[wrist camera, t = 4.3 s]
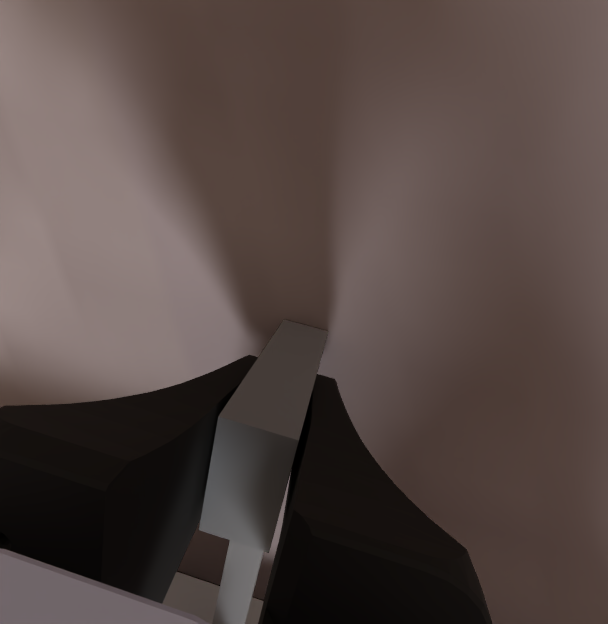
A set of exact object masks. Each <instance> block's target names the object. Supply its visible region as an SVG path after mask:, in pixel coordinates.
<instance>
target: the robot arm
mask: <svg viewBox="0 0 608 624" xmlns="http://www.w3.org/2000/svg"><path fill="white" fill-rule="evenodd" d="M257 359H258V357H255V356H251V355H248V356H246V357H243V358H241V359H239V360H237V361H235V362H233V363H230V364H228V365H226V366H224V367H222V368H219V369H217V370H215V371H213V372H210V373H208V374H205V375H203V376H200V377H197V378H195V379H192V380H189V381H187V382H184V383H181V384H178V385H175V386H171V387H168V388H164V389H160V390H156V391H152V392H148V393H143V394H138V395H132V396H127V397H122V398H116V399H110V400H102V401H94V402H83V403H72V404H57V405H23V406H3V407H2V408H0V624H210V623H208V622H206V621H204V620H203V619H201V618H199V617H197V616H195V615H192V614H189V613H186V612H184V611H181V610H178V609H175V608H172V607H169V606H166V605H164V604H162V603H163V601H164V599H165V596H166V594H167V592H168V589H169V587H170V585H171V583H172V580H173V578H174V576H175V574H176V571H177V569H178V567H179V565H180V563H181V560H182V558H183V556H184V554H185V551H186V549H187V547H188V545H189V543H190V541H191V538H192V536H193V534H194V532H195V530H196V528H197V525H198V523H199V521H200V519H201V515H202V509H203V503H204V497H205V491H206V485H207V480H208V474H209V468H210V462H211V456H212V450H213V445H214V439H215V433H216V427H217V421H218V416H219V415H220V413H221V412H222V410H223V409H224V407H225V406H226V404H227V403H228V401H229V400H230V398H231V397H232V395H233V394H234V393H235V391H236V390H237V388H238V387H239V385H240V384H241V382H242V381H243V379H244V378H245V376H246V375H247V373H248V372H249V370H250V369H251V367H252V366H253V365H254V363H255V362H256V360H257ZM258 624H492V621H491V617H490V614H489V611H488V608H487V604H486V601H485V598H484V594H483V591H482V588H481V586H480V583H479V580H478V577H477V574H476V572H475V569H474V567H473V565H472V562H471V560H470V557H469V554H468V552H467V549H466V548H464V547H463V546H462V545H461V544H460V543H458V542H457V541H456V540H455V539H454V538H452V537H451V536H450V535H449V534H448V533H446V532H445V531H444V530H443V529H442V528H440V527H439V526H438V525H437V524H435V523H434V522H433V521H432V520H431V519H429V518H428V517H427V516H426V515H425V514H424V513H423V512H422V511H421V510H420V509H419V508H418V507H417V506H416V505H415V504H414V503H413V502H412V501H411V500H409V499H408V498H407V497H406V495H405V494H404V493H403V492H402V491H401V490H400V489H399V488H398V487H397V486H396V485H395V484H394V483H393V481H392V480H391V479H390V478H389V477H388V476H387V474H386V473H385V472H384V471H383V470H382V469H381V467H380V466H379V465H378V463H377V462H376V461H375V460H374V458H373V457H372V455H371V454H370V452H369V451H368V450H367V448H366V447H365V445H364V444H363V442H362V440H361V439H360V437H359V435H358V433H357V431H356V430H355V428H354V426H353V424H352V422H351V420H350V418H349V415H348V413H347V411H346V409H345V406H344V404H343V401H342V398H341V396H340V393H339V390H338V386H337V383H336V381H335V379H333V378H329V377H326V376H322V375H319V374H317V375H316V379H315V382H314V386H313V390H312V393H311V397H310V401H309V405H308V408H307V412H306V416H305V420H304V424H303V427H302V431H301V435H300V439H299V442H298V446H297V450H296V454H295V457H294V461H293V465H292V469H291V475H290V481H289V487H288V494H287V500H286V506H285V512H284V519H283V524H282V529H281V534H280V539H279V543H278V547H277V551H276V555H275V559H274V563H273V567H272V571H271V575H270V579H269V582H268V586H267V590H266V594H265V598H264V602H263V606H262V610H261V614H260V618H259V622H258Z"/></svg>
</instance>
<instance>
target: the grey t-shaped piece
mask: <svg viewBox="0 0 608 624" xmlns="http://www.w3.org/2000/svg"><path fill="white" fill-rule="evenodd" d="M327 334H328V331H325V330H322V329H318V328H314V327H310V326H307V325H303V324H299V323H296V322H292V321H288V320H283V322H282V323H281V325H280V326H279V328H278V329H277V331H276V332H275V334H274V335H273V337H272V338H271V339H270V341H269V342H268V344H267V345H266V347H265V348H264V350H263V351H262V353H261V354H260V356H259V357H258V359H257V360H256V362H255V363H254V365H253V366H252V367H251V369H250V370H249V372H248V373H247V375H246V376H245V378H244V379H243V381H242V382H241V384H240V385H239V387H238V388H237V390H236V391H235V393H234V394H233V395H232V397H231V398H230V400H229V401H228V403H227V404H226V406H225V407H224V409H223V410H222V412H221V413H220V415H219V416H218V421H217V427H216V433H215V439H214V445H213V450H212V456H211V462H210V468H209V474H208V480H207V485H206V491H205V497H204V503H203V509H202V515H201V520H200V526H199V530H200V531H203V532H206V533H209V534H212V535H215V536H218V537H222V538H225V539H228V540H230V542H229V547H228V551H227V556H226V561H225V565H224V570H223V575H222V580H221V584H220V586H217V585H214V584H212V583H209V582H206V581H203V580H200V579H197V578H194V577H191V576H188V575H185V574H182V573H179V572H176V574H175V576H174V578H173V580H172V583H171V585H170V587H169V589H168V592H167V594H166V596H165V599H164V601H163V603H162V604H164V605H166V606H169V607H172V608H175V609H178V610H181V611H184V612H186V613H189V614H192V615H195V616H197V617H199V618H201V619H203V620H204V621H206V622H208V623H210V624H258V622H259V618H260V614H261V610H262V606H263V602H264V601H262V600H259V599H256V598H253V597H252V596H253V593H254V589H255V585H256V581H257V577H258V573H259V569H260V566H261V562H262V558H263V554H264V552H267V553H269V550H270V547H271V543H272V539H273V535H274V532H275V528H276V524H277V521H278V517H279V513H280V509H281V506H282V502H283V498H284V495H285V491H286V487H287V483H288V480H289V476H290V472H291V469H292V465H293V461H294V457H295V454H296V450H297V446H298V442H299V439H300V435H301V431H302V427H303V424H304V420H305V416H306V412H307V408H308V405H309V401H310V397H311V393H312V390H313V386H314V382H315V379H316V375H317V372H318V368H319V364H320V360H321V357H322V353H323V349H324V345H325V342H326V338H327Z"/></svg>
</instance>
